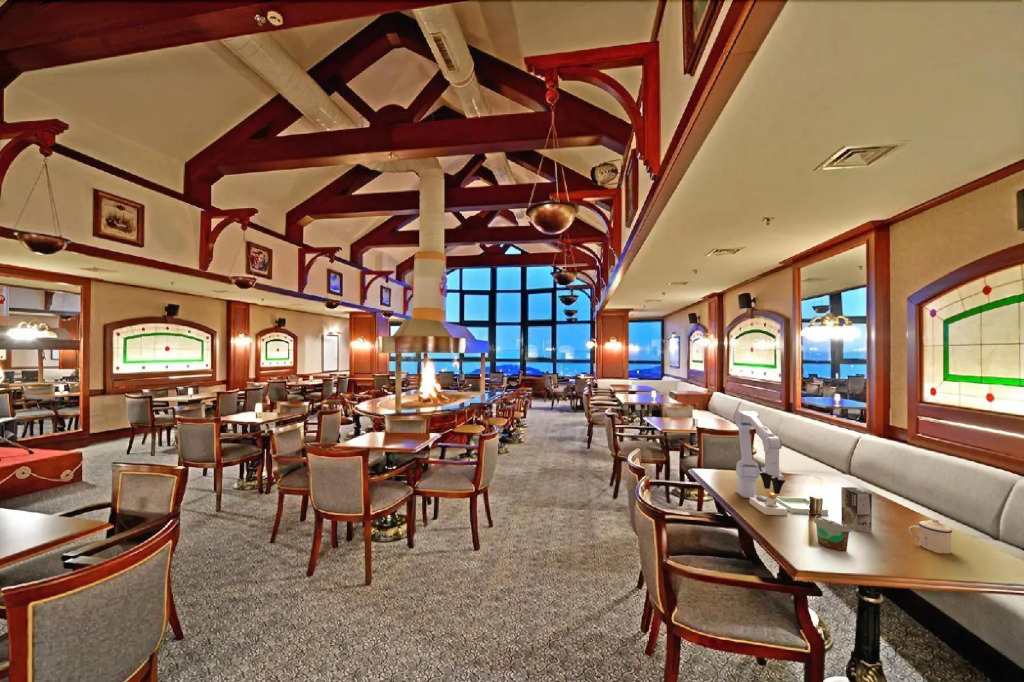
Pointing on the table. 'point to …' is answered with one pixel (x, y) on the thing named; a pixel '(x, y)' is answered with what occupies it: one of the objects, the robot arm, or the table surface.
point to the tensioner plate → (761, 506)
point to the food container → (832, 534)
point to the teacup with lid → (934, 535)
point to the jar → (771, 499)
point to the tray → (797, 505)
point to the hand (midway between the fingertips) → (771, 491)
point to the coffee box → (856, 509)
